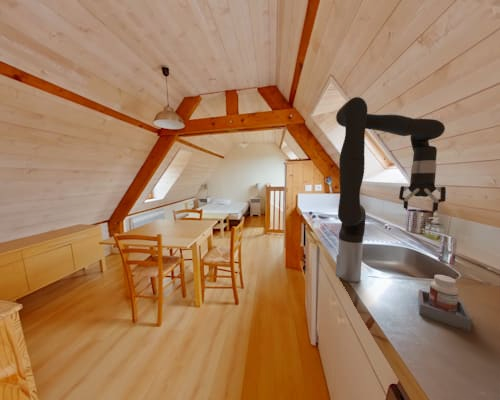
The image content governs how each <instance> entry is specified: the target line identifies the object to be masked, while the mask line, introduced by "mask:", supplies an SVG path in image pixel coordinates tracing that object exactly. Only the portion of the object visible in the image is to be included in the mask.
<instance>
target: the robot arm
mask: <svg viewBox="0 0 500 400" xmlns="http://www.w3.org/2000/svg"><path fill="white" fill-rule="evenodd" d="M335 120H336V122H337V124H338V125H339V126H341V127H344V128H345V133H344V140H343V143H342V147H341V150H340V155H339V163H338V164H339V169H338V170H339V203H338V208H337V209H338V210H337V217H338V220H339V221H340V222H341V227H340V229H339V233H338V245H337V246H338V250H337V255H336V261H335V262H336V263H335V277H337V278H339V279H340V280H343V281H345V282H349V283H358V282H360V281H361V277H362V258H363V244H364V235H365V230H366V229H365V228H366V217H367V216H366V209H365V208H364V206H363V205H362V204H361V195H360V194H361V188H362V183H363V179H364V174H365V164H366V162H365V160H366V159H365V147H366V145H365V143H366V142H365V137H366V134H365V133H366V130H374V131H379V132H383V133H388V134H392V135H396V136H397V135H398V136H401V137H407V136H409V138H410V143H411V147H412V151H413V154H412V155H413V156H412V164H411V169H410V183H409V186H404V185H401V186H400V191H399V194H398V195H399V196H398V199H399V200H401V201H403V209H404V210H405V211H408V208H409V205H408V204H409V200H410V199H411V198H412V197H422V198H423V197H424V198H426V197H429V198H430V199H431V200H432V201H433V202H432V209H431V210H432V211H431V212H432V213H435V212H436V211H437V212H438V211H439V210H438V209H439V203H443V202H446V198H447V197H446V186H436V185H435V184H436V174H437V155H438V154H437V152H438V148H437V147H436V146H434V145H430V143H429V141H430V140H435V139H437V138H439V137H441V136H443V134H444V133H445V131H446V127H445V124H444V123H443V122H441V121H439V119H438V120H437V119H432V118H431V119H429V118H413V117H410V116H409V117H408V116H405V115H402V114H391V113H389V114H388V113H387V114H377V113H376V114H373V113H368V104H367V102H366V100H365V99H364V98H362V97H361V96H355V97H351V98H350V99H349V100H347V102H345V103H344V104H343V105H342V106H341V108H339V109H338V111H337V113H336V117H335ZM407 190H408V191H409V192H410V193H409V194H408V195H407V196H406V197H404V192H406V191H407ZM436 190H437V192H438V193H440V195H439V196H440V197H439V198H437V197H436V196H435V195H434V191H436Z"/></svg>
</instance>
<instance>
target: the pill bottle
mask: <svg viewBox="0 0 500 400" xmlns="http://www.w3.org/2000/svg"><path fill="white" fill-rule="evenodd" d="M433 279H434V280H433V281H431V282H430V283H429V284H430V285H429V286H430V287H429V292H430V293H429V306H431V307H435V308H438V309H441V310H444V311H447V312H450V313H454V314H456V310H457V301H459V300H458V299H459V288H457V287H456V284H457V281H456V279H455V278H453V277H450V276H447V275H444V274H434V277H433Z"/></svg>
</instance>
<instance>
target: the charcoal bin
mask: <svg viewBox="0 0 500 400" xmlns="http://www.w3.org/2000/svg"><path fill="white" fill-rule="evenodd" d="M429 293H430V291H429V292H428V291H425V290H422V289H418V296H417V301H418V312H419V315H420V316H422V317H426V318H429V319H432V320H435V321H437V322H440V323H443V324H446V325H449V326H451V327H454V328H457V329H460V330H463V331H465V332H469V333H471V328H472V318H471V316H470V313H469V311H468V309H467V308H466V305H465V303H464V301H461V300H458V301H457V310H456V314H454V313H450V312H447V311H444V310H441V309H438V308H435V307H431V306H429Z"/></svg>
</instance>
